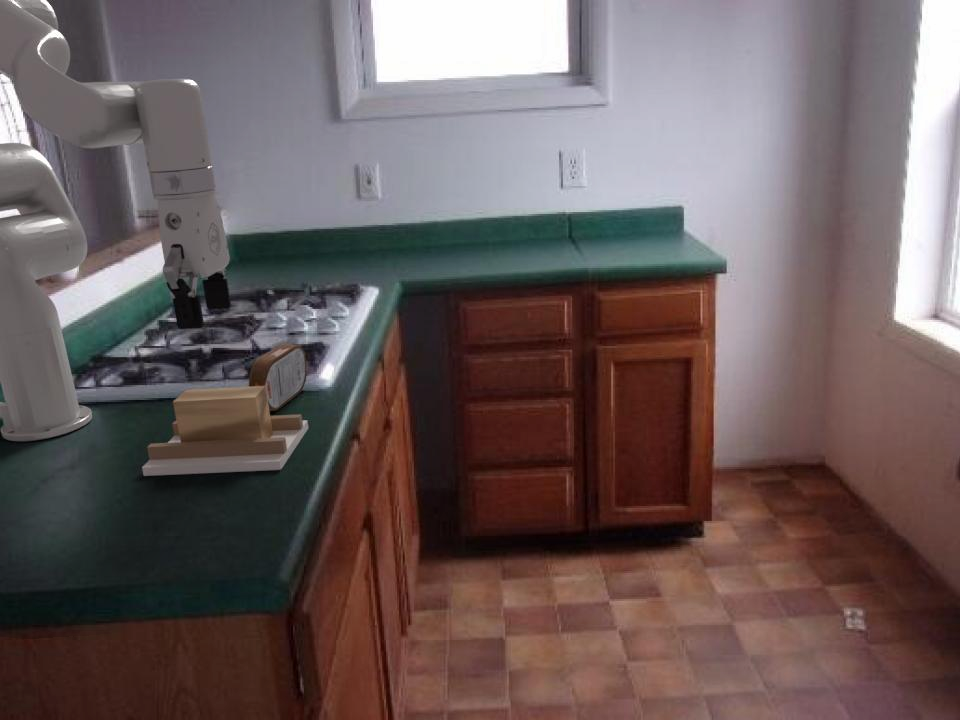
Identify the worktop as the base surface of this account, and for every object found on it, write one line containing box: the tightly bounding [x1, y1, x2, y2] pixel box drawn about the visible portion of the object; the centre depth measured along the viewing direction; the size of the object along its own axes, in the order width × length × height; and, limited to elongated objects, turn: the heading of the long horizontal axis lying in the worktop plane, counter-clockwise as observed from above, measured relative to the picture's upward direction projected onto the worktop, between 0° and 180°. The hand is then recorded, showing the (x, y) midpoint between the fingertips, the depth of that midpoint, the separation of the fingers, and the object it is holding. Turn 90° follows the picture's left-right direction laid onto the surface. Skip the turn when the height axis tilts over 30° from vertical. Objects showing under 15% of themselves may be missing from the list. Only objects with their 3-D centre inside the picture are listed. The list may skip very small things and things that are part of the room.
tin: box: [248, 343, 308, 412], centre depth 133 cm, size 15×3×8 cm, turn 166°
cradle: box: [141, 413, 309, 477], centre depth 116 cm, size 18×14×3 cm
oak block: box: [172, 386, 273, 442], centre depth 115 cm, size 4×11×7 cm, turn 87°
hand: (205, 317), depth 112 cm, fingers open, 9 cm apart
